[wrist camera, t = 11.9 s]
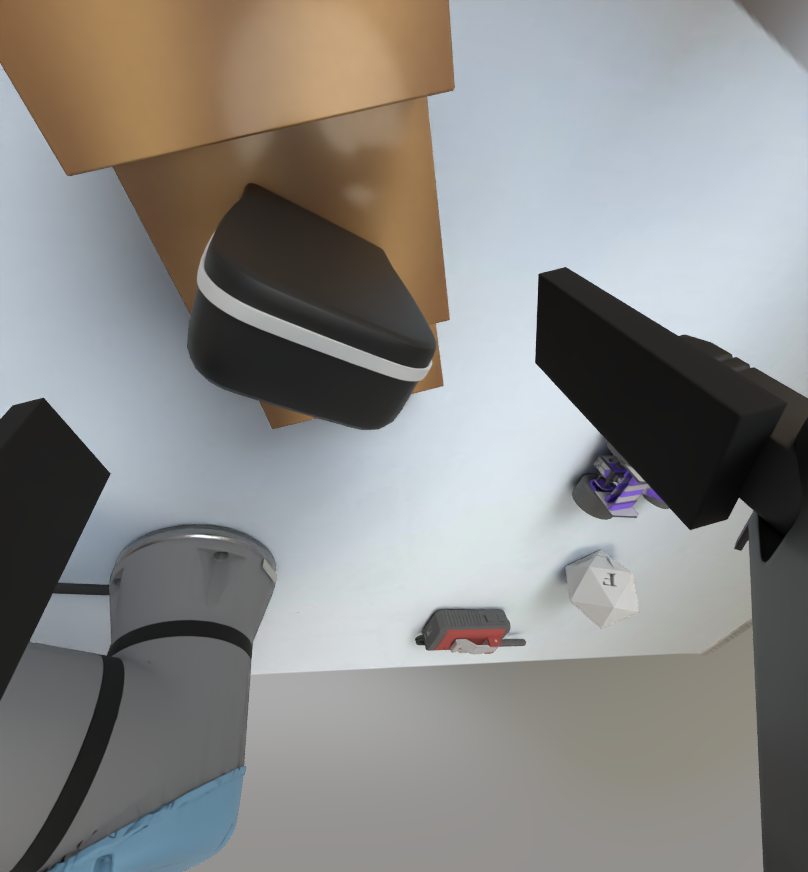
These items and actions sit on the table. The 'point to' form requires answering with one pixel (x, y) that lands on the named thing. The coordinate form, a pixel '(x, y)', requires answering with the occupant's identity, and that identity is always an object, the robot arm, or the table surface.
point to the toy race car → (613, 489)
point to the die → (602, 589)
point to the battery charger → (306, 316)
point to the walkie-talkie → (467, 631)
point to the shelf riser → (248, 118)
